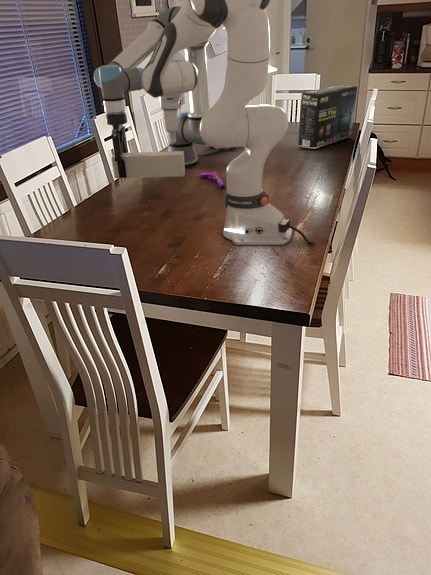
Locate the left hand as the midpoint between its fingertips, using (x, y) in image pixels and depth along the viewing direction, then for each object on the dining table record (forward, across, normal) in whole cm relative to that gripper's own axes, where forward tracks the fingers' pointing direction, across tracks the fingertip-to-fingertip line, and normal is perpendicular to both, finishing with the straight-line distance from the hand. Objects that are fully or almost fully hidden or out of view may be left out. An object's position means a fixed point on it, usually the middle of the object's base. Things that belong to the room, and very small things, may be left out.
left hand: (124, 174), depth 179 cm
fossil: (+9, -75, +37) cm, 84 cm away
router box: (+9, -76, +92) cm, 120 cm away
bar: (0, 0, +10) cm, 10 cm away
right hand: (-14, +2, +21) cm, 25 cm away
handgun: (+9, -16, +34) cm, 38 cm away
